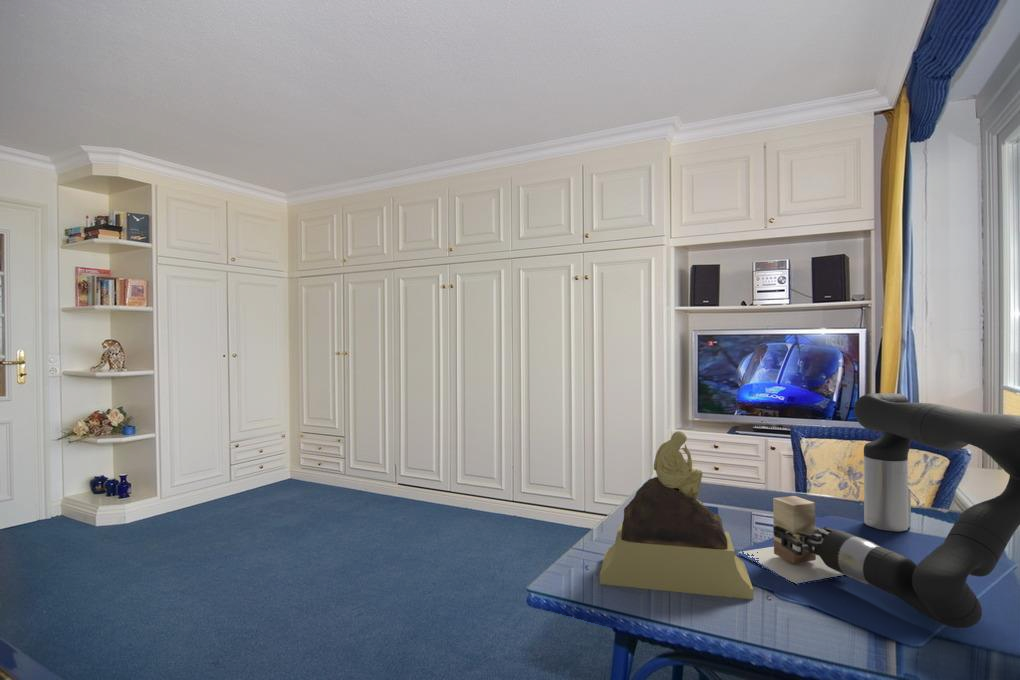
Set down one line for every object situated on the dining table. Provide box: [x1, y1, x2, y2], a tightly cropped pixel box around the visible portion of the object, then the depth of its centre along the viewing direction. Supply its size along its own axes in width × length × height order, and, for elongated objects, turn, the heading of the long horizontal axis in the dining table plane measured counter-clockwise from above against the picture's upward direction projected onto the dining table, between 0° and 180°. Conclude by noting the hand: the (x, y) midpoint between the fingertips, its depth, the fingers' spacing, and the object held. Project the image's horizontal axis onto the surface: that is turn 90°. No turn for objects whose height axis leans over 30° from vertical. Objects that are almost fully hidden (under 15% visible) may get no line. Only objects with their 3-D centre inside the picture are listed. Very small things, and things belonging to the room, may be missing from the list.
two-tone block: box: [772, 495, 816, 563], centre depth 121 cm, size 6×6×12 cm
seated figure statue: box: [599, 430, 754, 600], centre depth 114 cm, size 28×13×30 cm, turn 75°
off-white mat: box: [738, 546, 845, 583], centre depth 120 cm, size 16×16×1 cm
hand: (786, 528), depth 123 cm, fingers closed on two-tone block, 5 cm apart
